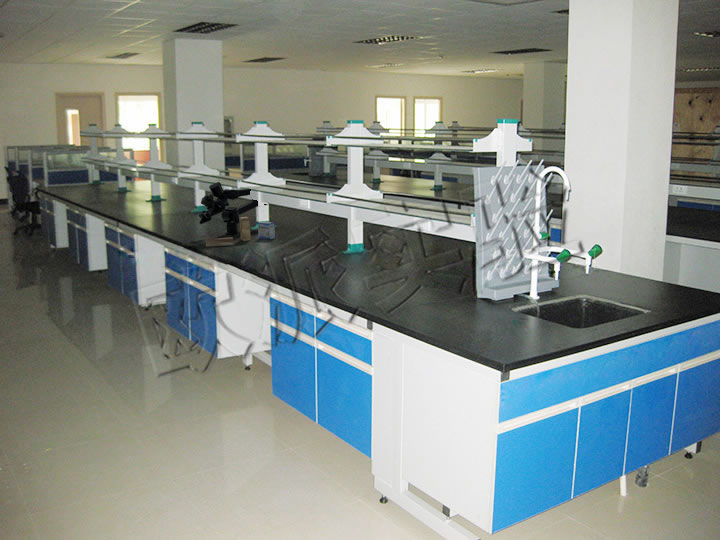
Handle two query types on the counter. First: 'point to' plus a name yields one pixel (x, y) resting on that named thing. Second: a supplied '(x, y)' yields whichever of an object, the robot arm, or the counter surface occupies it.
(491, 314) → the counter surface
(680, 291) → the counter surface
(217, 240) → the lock board
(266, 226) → the medicine box
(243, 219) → the oak plank block
